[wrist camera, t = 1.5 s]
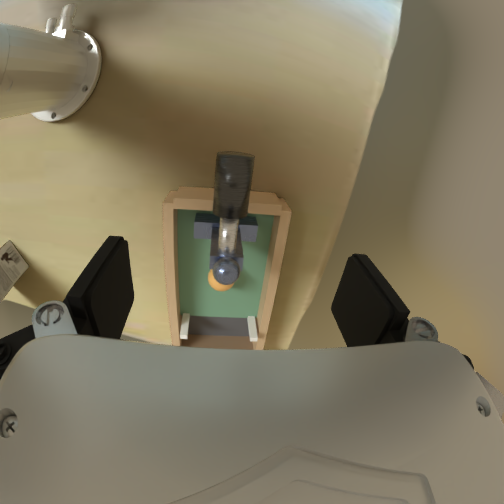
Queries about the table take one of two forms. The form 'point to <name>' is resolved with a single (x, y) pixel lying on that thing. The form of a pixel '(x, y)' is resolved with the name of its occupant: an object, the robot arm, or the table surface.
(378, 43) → the table surface
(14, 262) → the coffee box
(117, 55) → the table surface
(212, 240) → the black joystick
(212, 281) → the foosball ball
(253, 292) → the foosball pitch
